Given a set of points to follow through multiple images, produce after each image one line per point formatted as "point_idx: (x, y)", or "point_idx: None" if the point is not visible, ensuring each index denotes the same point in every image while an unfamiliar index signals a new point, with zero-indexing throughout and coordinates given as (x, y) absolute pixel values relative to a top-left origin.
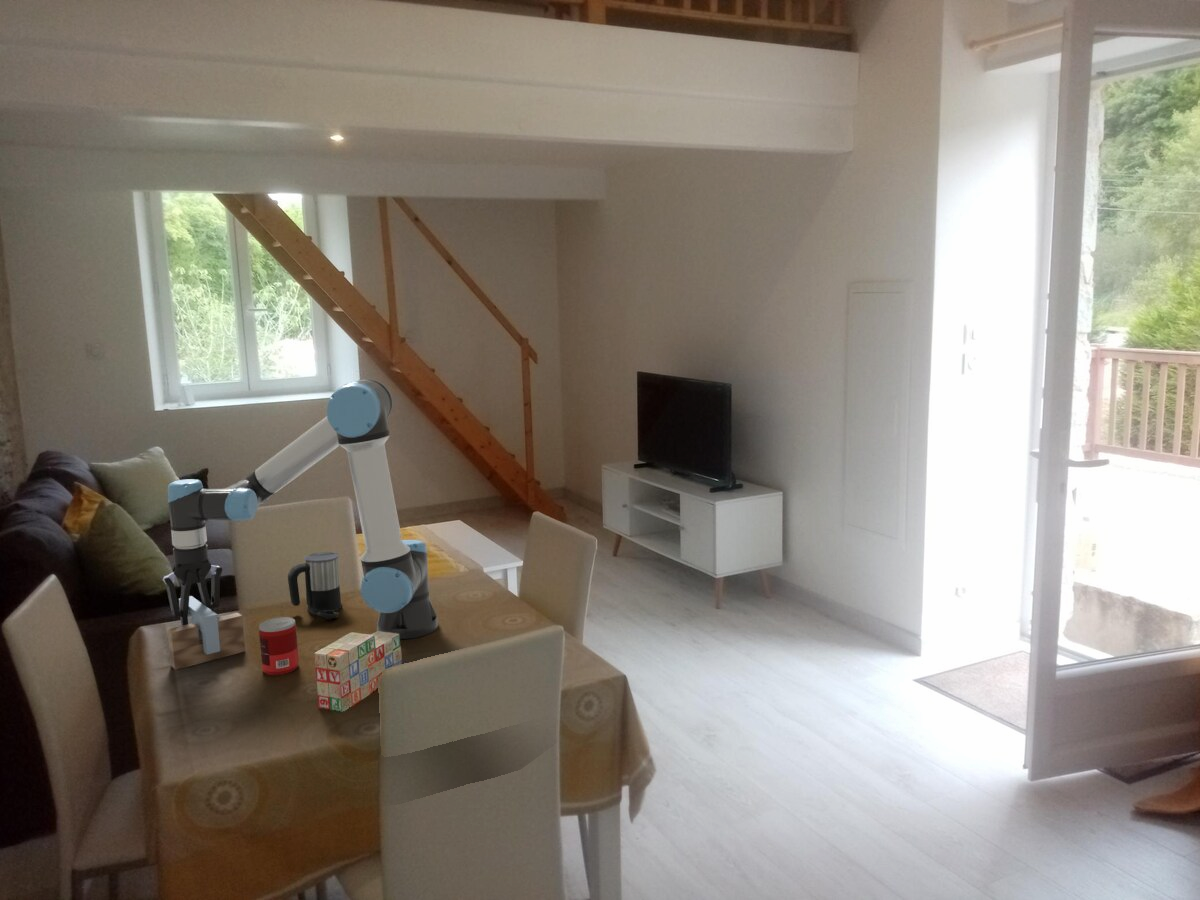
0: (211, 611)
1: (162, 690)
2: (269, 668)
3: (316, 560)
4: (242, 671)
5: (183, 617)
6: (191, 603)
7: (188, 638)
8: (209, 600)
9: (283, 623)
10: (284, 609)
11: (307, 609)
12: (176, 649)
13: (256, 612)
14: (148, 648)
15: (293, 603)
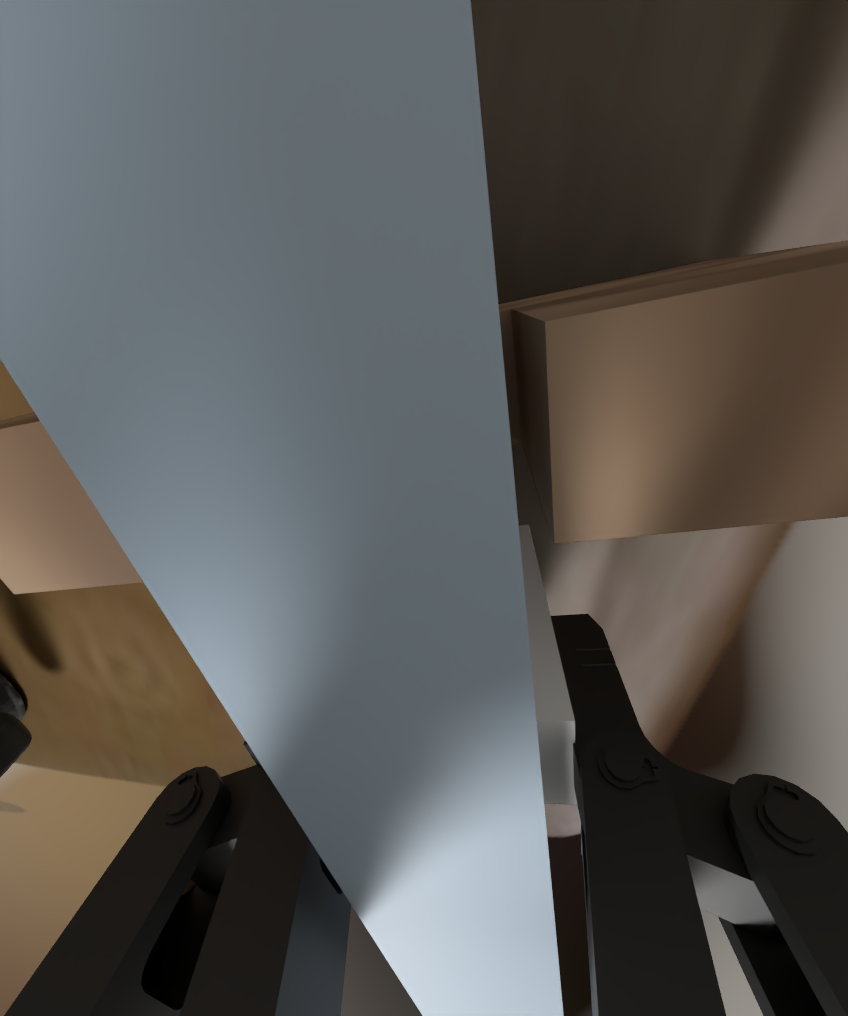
0: (106, 469)
1: None
2: None
3: None
4: None
5: (630, 742)
6: (488, 962)
7: (675, 281)
8: (216, 936)
9: None
10: (119, 741)
11: (16, 696)
12: (795, 251)
13: (216, 766)
14: (663, 691)
15: (3, 728)
